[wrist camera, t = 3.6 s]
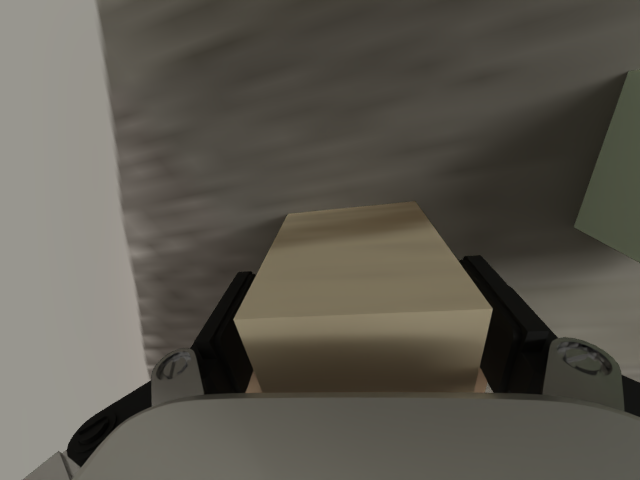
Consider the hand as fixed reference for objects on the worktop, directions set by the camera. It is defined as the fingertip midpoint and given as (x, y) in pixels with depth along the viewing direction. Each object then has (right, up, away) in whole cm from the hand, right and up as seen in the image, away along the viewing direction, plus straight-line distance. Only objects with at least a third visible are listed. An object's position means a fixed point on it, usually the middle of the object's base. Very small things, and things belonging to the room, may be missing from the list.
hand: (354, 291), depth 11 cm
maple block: (0, +1, +2) cm, 2 cm away
